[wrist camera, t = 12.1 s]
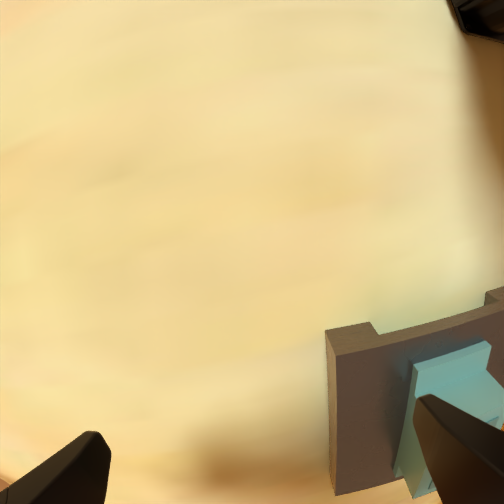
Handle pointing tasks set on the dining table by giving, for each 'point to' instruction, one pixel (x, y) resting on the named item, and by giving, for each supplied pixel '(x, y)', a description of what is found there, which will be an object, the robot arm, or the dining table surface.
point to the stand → (392, 386)
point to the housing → (454, 392)
